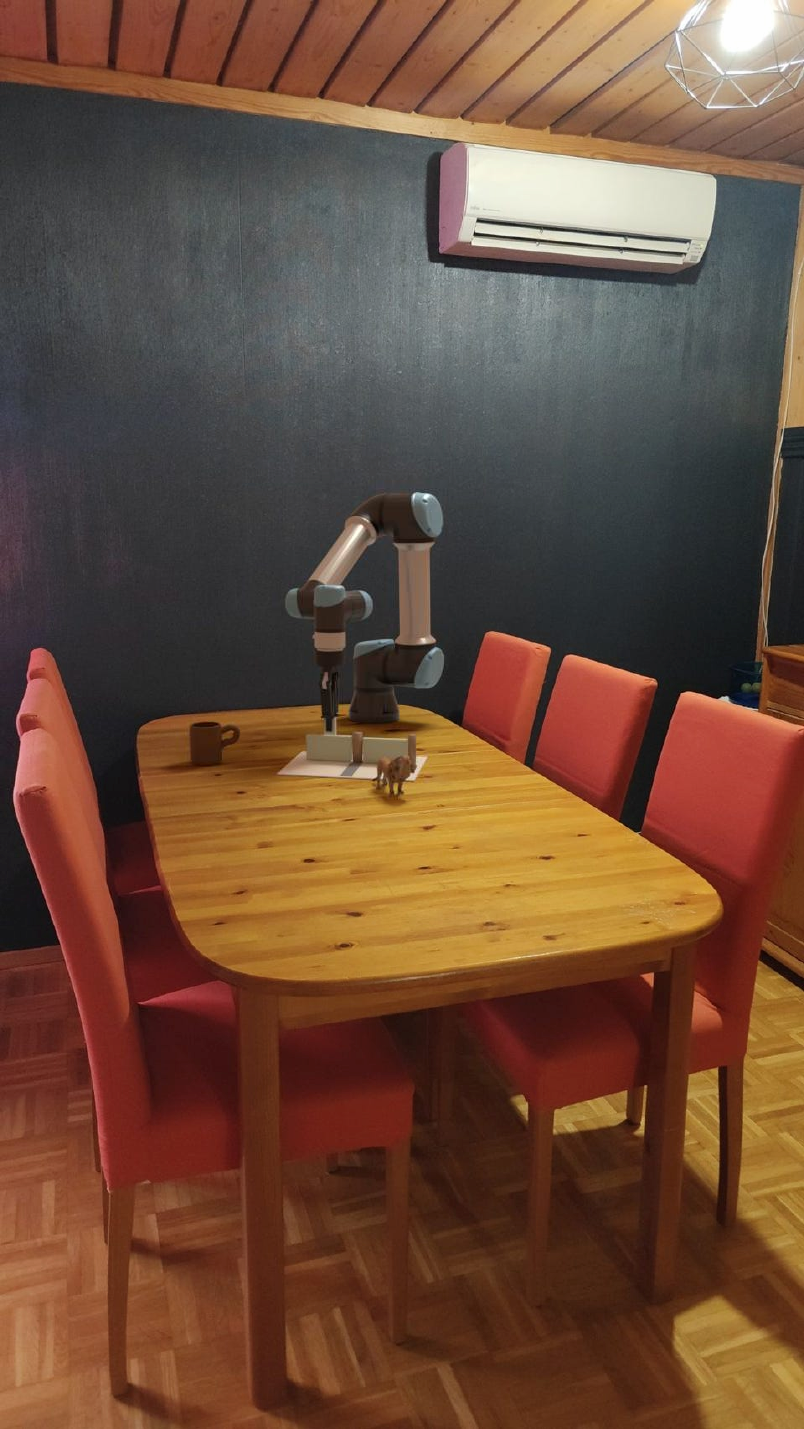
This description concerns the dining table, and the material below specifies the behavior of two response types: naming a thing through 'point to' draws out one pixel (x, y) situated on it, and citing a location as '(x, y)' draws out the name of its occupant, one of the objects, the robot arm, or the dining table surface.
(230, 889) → the dining table surface
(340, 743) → the fence panel
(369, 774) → the card
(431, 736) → the dining table surface
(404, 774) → the lion figurine
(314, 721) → the dining table surface
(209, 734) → the mug
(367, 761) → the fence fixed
